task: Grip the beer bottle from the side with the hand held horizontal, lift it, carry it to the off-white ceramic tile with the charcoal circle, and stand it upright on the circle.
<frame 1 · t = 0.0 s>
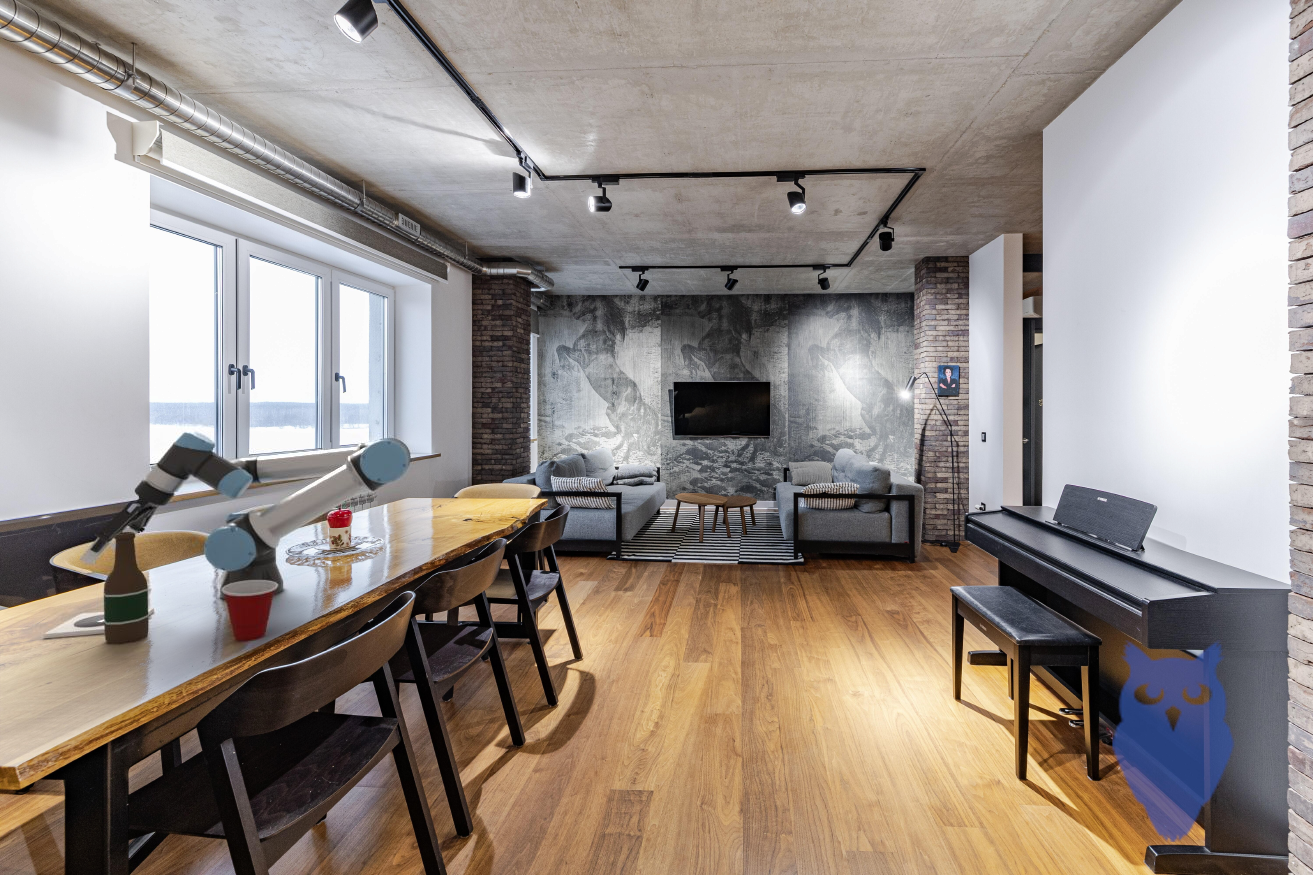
hand: (100, 555, 153), 15 cm above the table, tool tilted 35°, fingers open, 13 cm apart
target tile: (102, 624, 148), on the table
beer bottle: (126, 639, 139), on the table
plastic cup: (251, 637, 141), on the table
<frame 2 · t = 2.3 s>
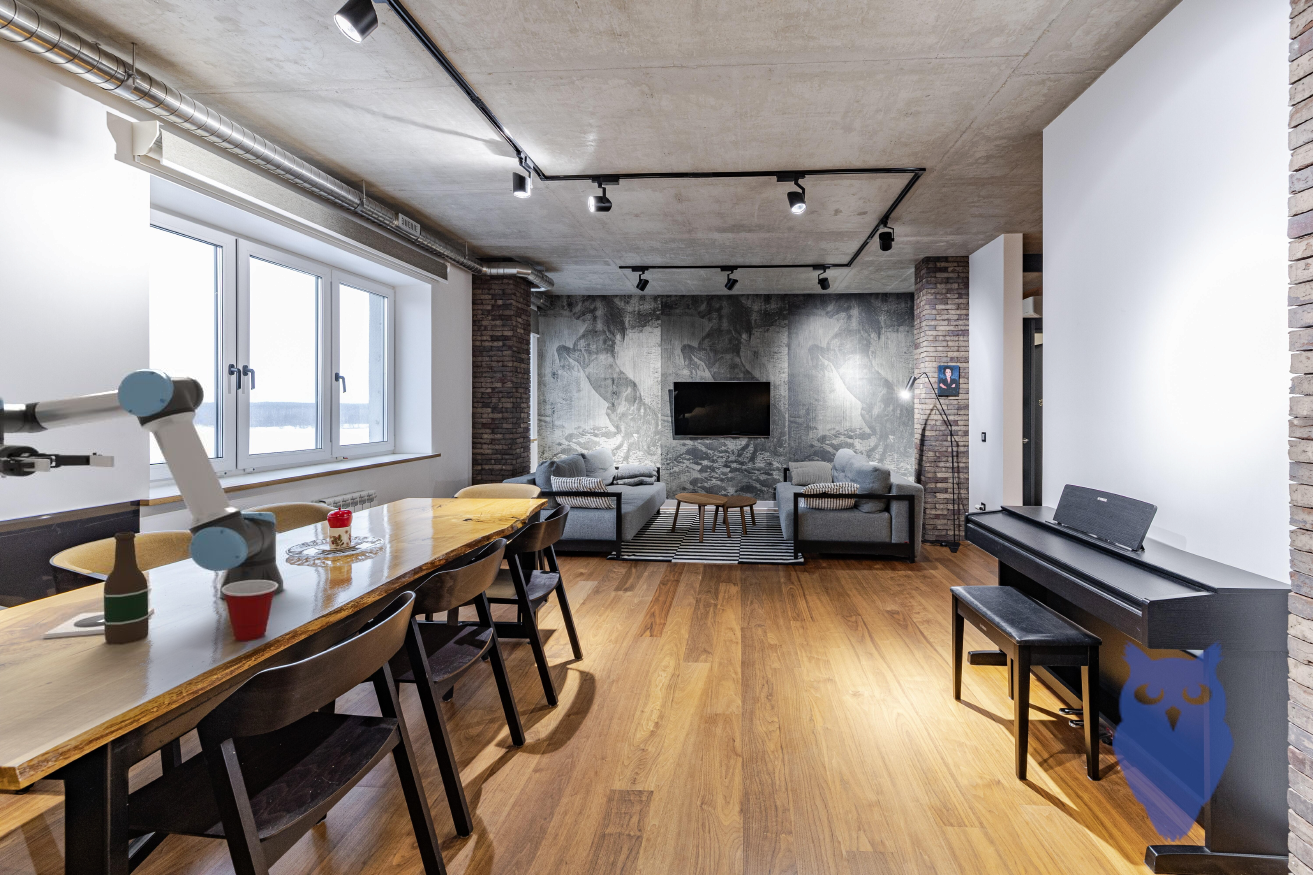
hand: (82, 463, 146), 39 cm above the table, tool horizontal, fingers open, 13 cm apart
nothing on the table moved.
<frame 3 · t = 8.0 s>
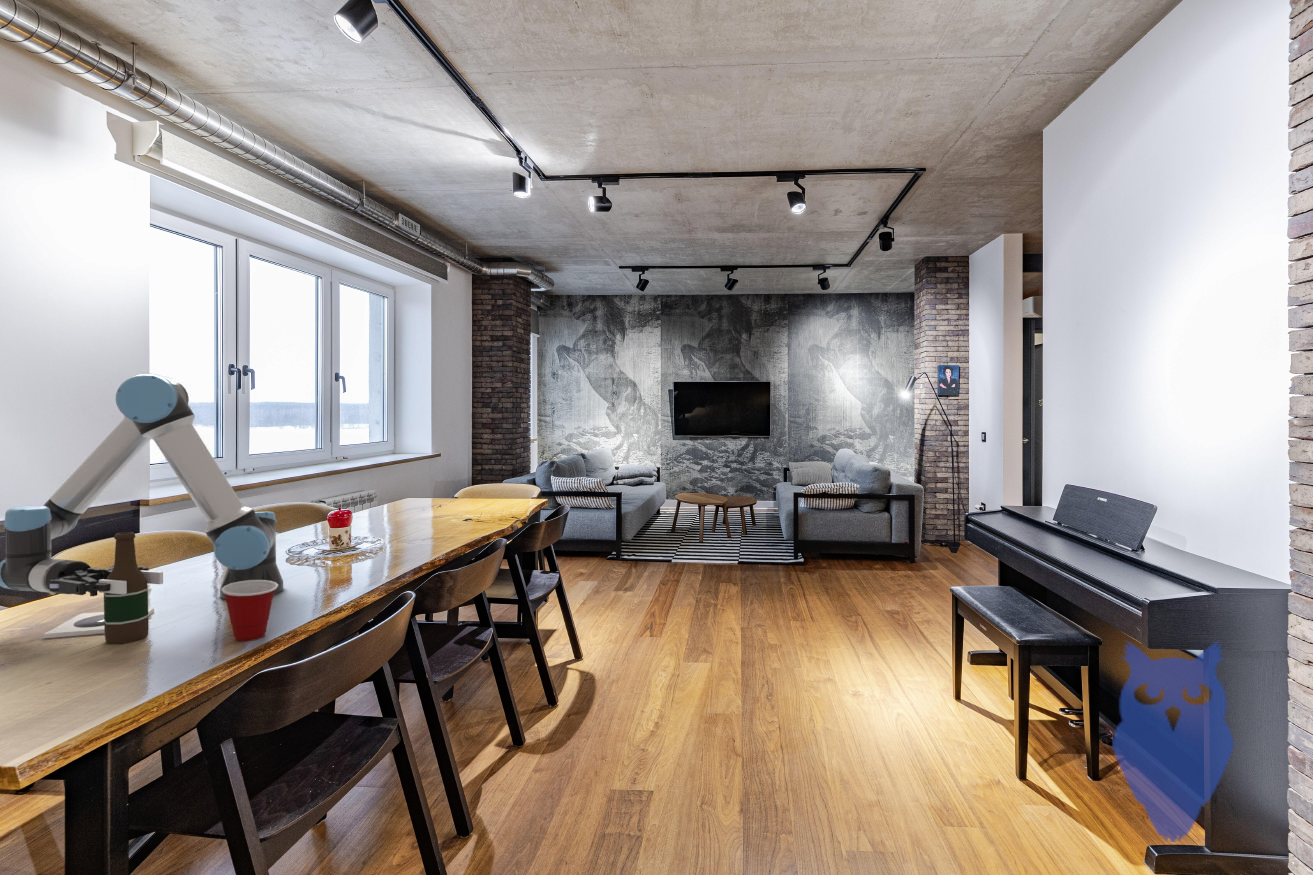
hand: (143, 582, 138), 13 cm above the table, tool horizontal, fingers closed on beer bottle, 7 cm apart
beer bottle: (126, 639, 139), on the table, touching gripper
everything else where it was.
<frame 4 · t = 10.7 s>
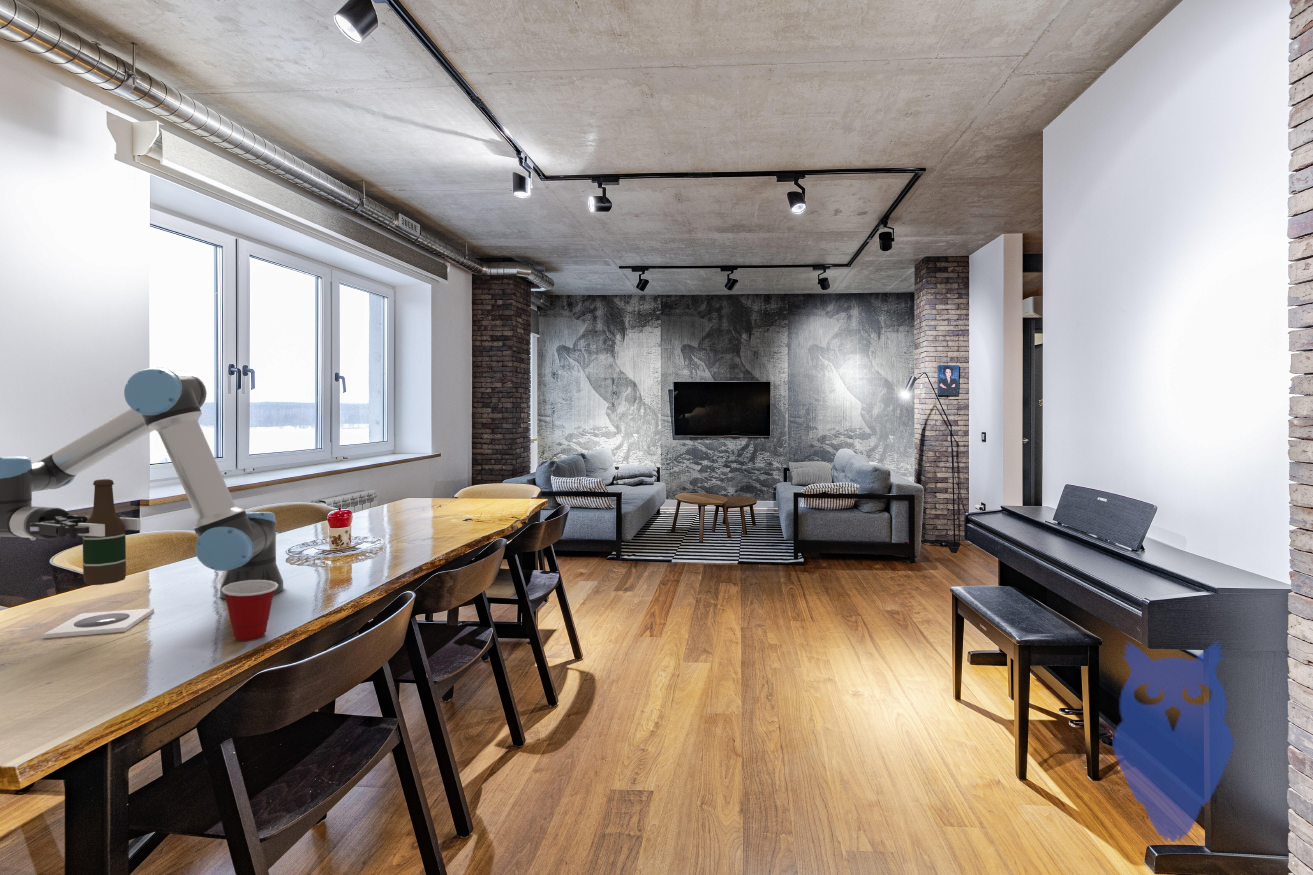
hand: (121, 527, 145), 24 cm above the table, tool horizontal, fingers closed on beer bottle, 7 cm apart
beer bottle: (104, 581, 146), point 11 cm above the table, touching gripper
everything else where it was.
when the fingers open (16 cm above the table, at t = 13.5 s): beer bottle drops 1 cm, resting on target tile.
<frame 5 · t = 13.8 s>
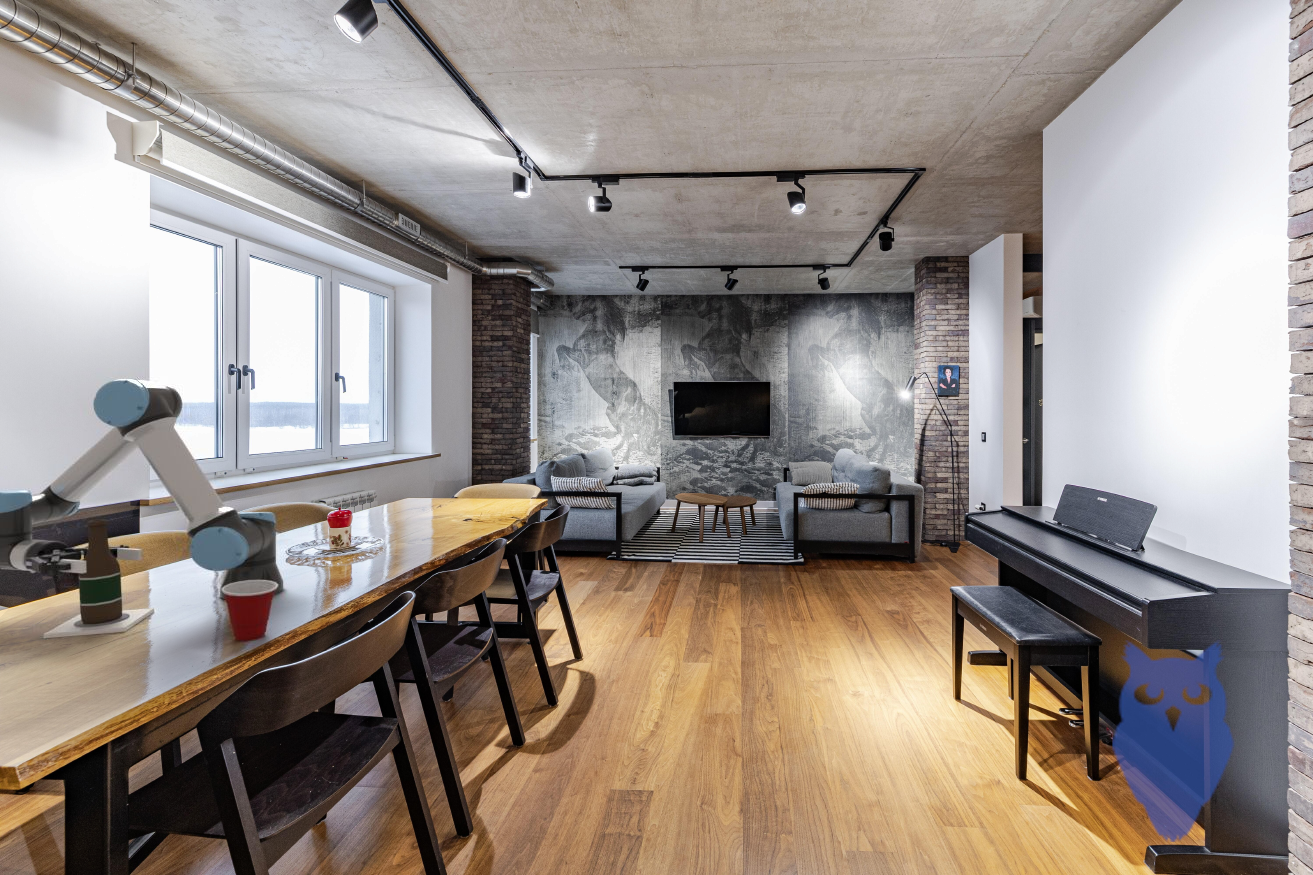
hand: (113, 560, 147), 16 cm above the table, tool horizontal, fingers open, 12 cm apart
beer bottle: (102, 620, 148), point 1 cm above the table, touching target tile
everything else where it was.
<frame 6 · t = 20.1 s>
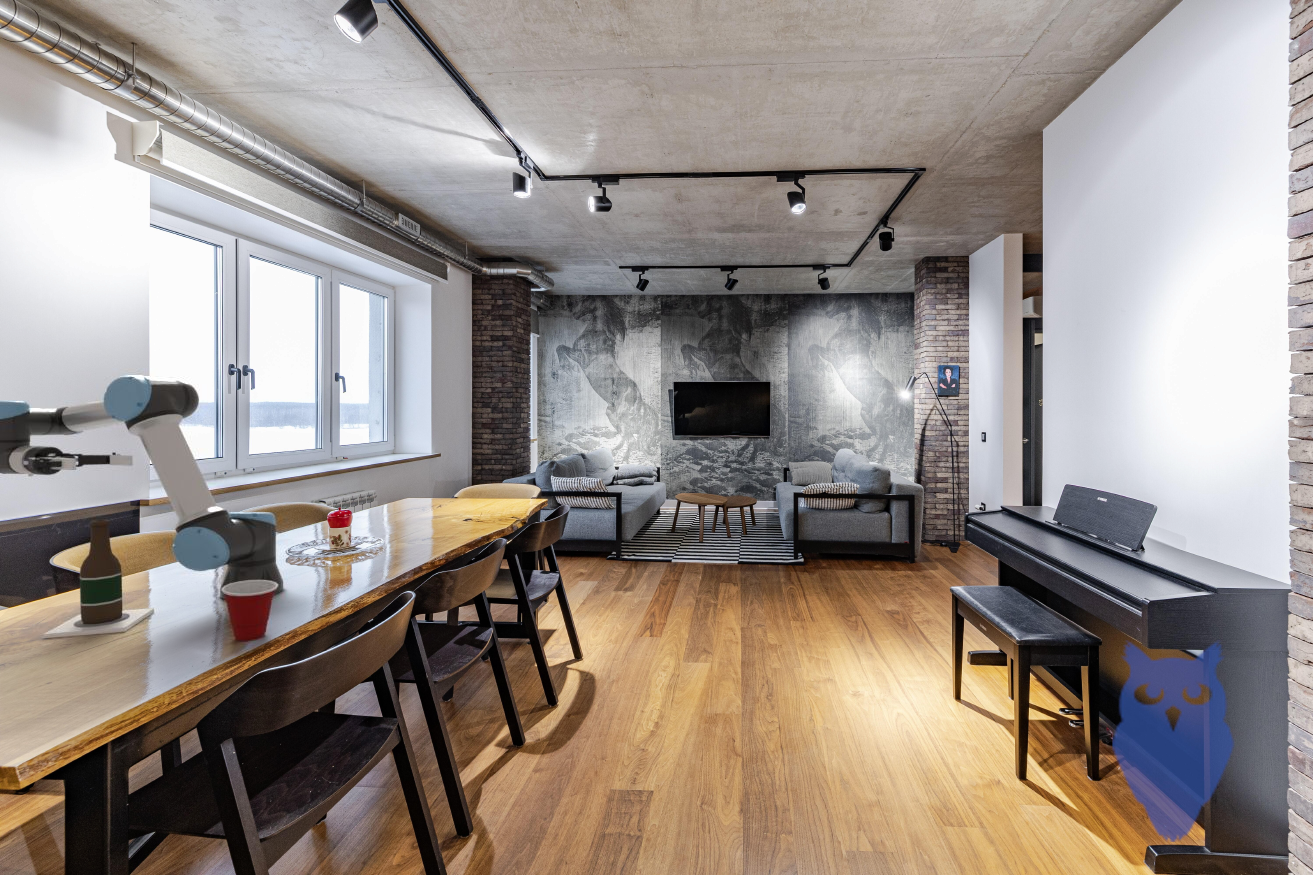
hand: (104, 462, 159), 38 cm above the table, tool horizontal, fingers open, 13 cm apart
nothing on the table moved.
at the end: beer bottle inside the target area on the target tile (0.1 cm from its centre), point 1.0 cm above the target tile's base; beer bottle tilted 0°; the gripper is holding nothing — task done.
